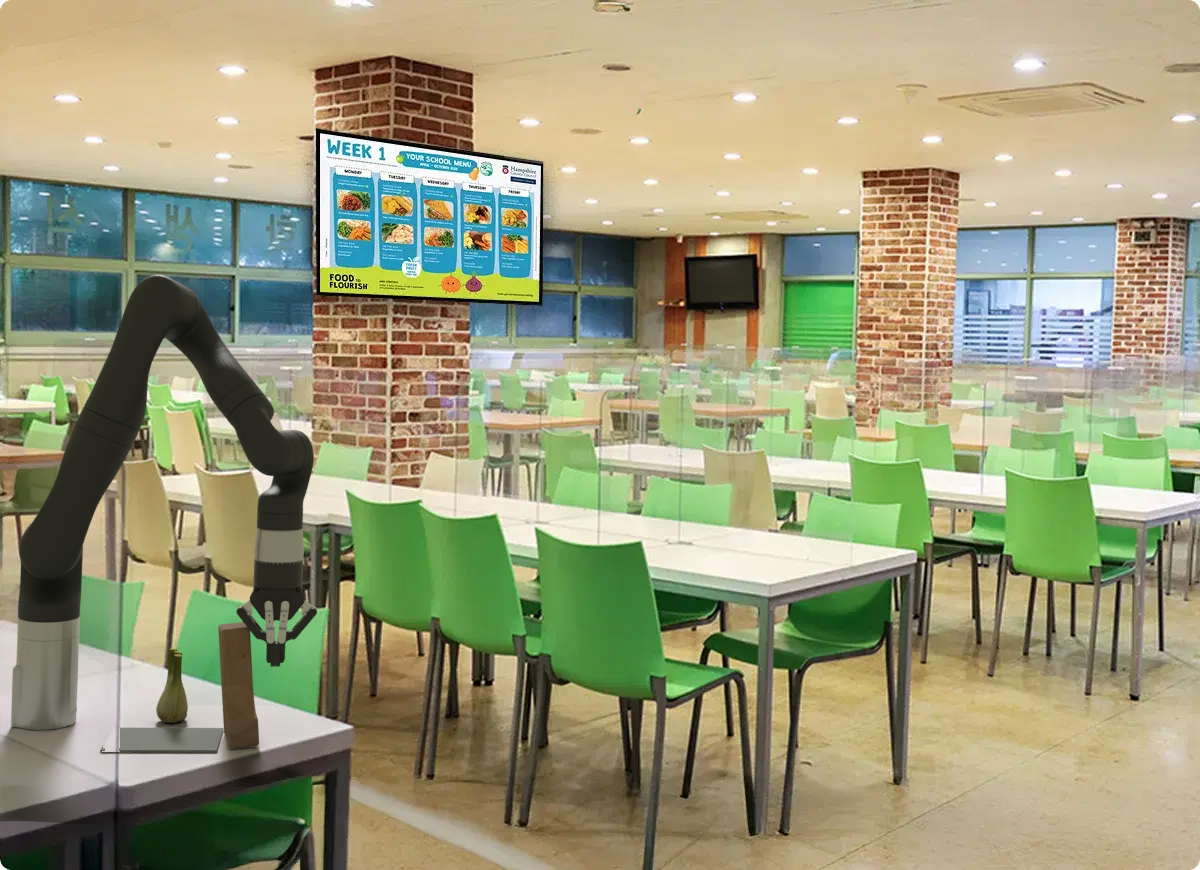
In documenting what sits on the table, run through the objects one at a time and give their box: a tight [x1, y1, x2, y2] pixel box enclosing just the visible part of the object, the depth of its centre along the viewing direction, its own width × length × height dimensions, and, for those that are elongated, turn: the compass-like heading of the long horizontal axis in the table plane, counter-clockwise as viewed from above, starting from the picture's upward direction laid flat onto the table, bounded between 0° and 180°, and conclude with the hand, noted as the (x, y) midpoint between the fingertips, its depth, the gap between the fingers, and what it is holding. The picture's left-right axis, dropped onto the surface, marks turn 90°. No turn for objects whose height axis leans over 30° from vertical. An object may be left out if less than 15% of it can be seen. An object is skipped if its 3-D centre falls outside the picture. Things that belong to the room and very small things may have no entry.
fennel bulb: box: [155, 647, 189, 724], centre depth 221 cm, size 6×5×12 cm
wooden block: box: [217, 621, 260, 750], centre depth 212 cm, size 9×4×18 cm, turn 21°
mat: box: [99, 727, 224, 754], centre depth 211 cm, size 17×12×1 cm
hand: (275, 665), depth 213 cm, fingers closed
